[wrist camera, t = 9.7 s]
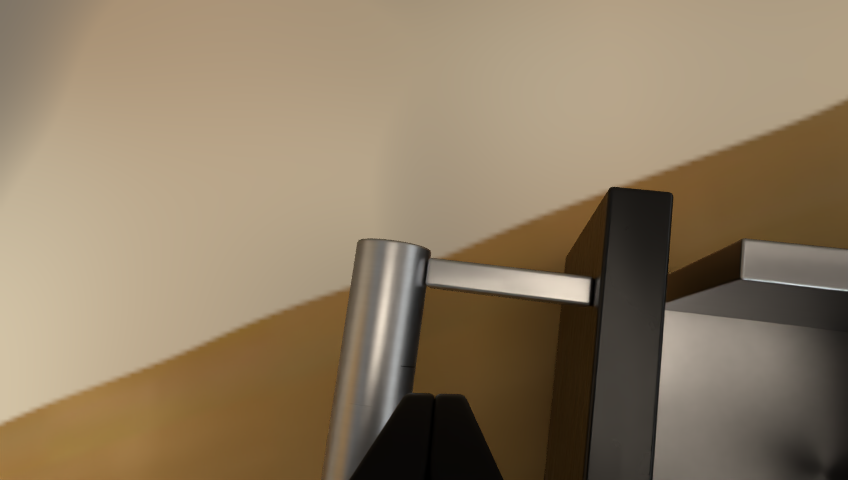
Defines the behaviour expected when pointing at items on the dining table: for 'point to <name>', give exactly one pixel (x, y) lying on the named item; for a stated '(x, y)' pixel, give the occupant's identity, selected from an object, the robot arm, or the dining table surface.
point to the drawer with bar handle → (633, 351)
